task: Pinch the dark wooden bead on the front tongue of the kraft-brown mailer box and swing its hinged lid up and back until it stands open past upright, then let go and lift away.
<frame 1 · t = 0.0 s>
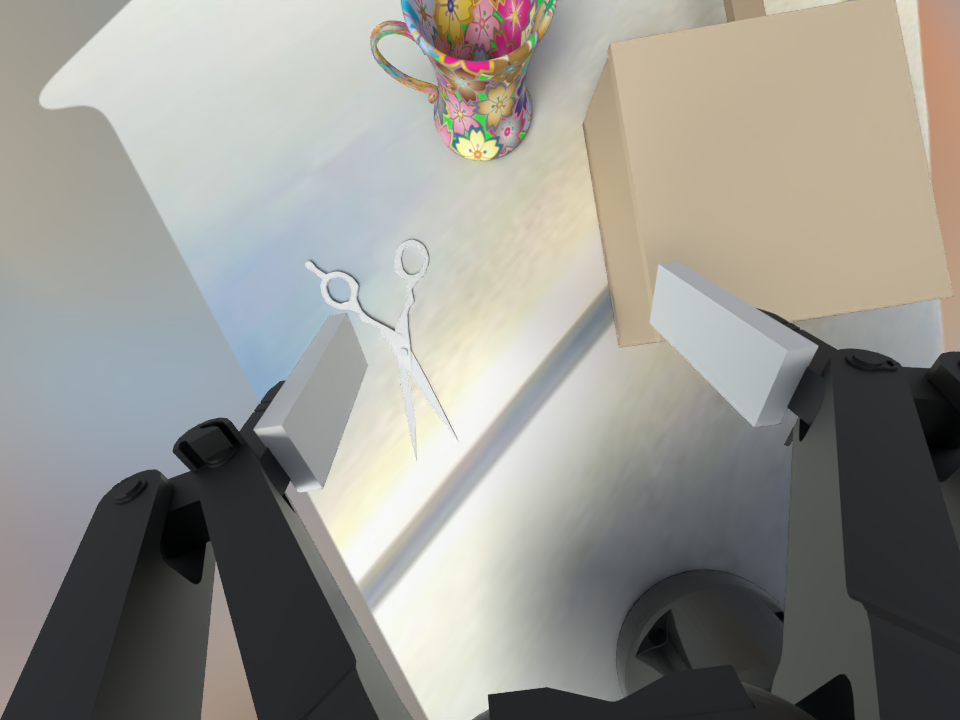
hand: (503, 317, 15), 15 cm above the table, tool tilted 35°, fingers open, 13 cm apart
scissors: (400, 346, 31), on the table
mug: (468, 123, 31), on the table
lid: (760, 97, 23), point 7 cm above the table, hinge at 0.0°
mailer box: (704, 218, 30), on the table
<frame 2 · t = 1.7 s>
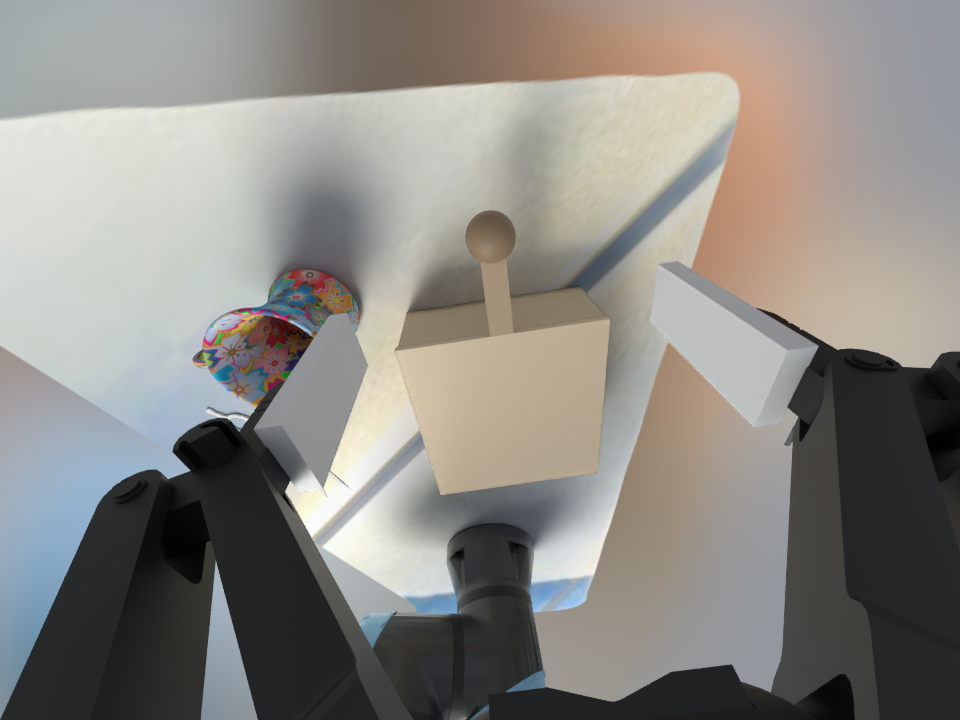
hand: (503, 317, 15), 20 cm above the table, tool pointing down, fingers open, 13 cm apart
mug: (305, 308, 35), on the table
lid: (506, 380, 32), point 7 cm above the table, hinge at 0.0°
mailer box: (502, 376, 41), on the table
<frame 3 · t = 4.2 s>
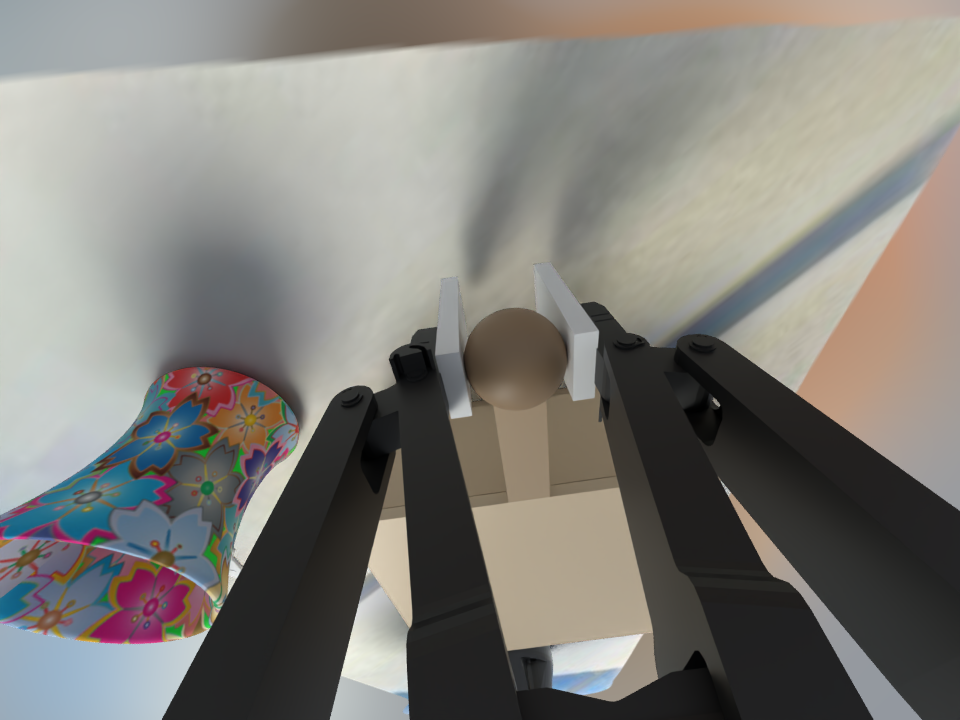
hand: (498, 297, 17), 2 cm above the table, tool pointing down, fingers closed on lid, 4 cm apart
mug: (215, 413, 22), on the table
lid: (533, 547, 20), point 7 cm above the table, hinge at 0.0°, touching gripper
mailer box: (519, 488, 28), on the table
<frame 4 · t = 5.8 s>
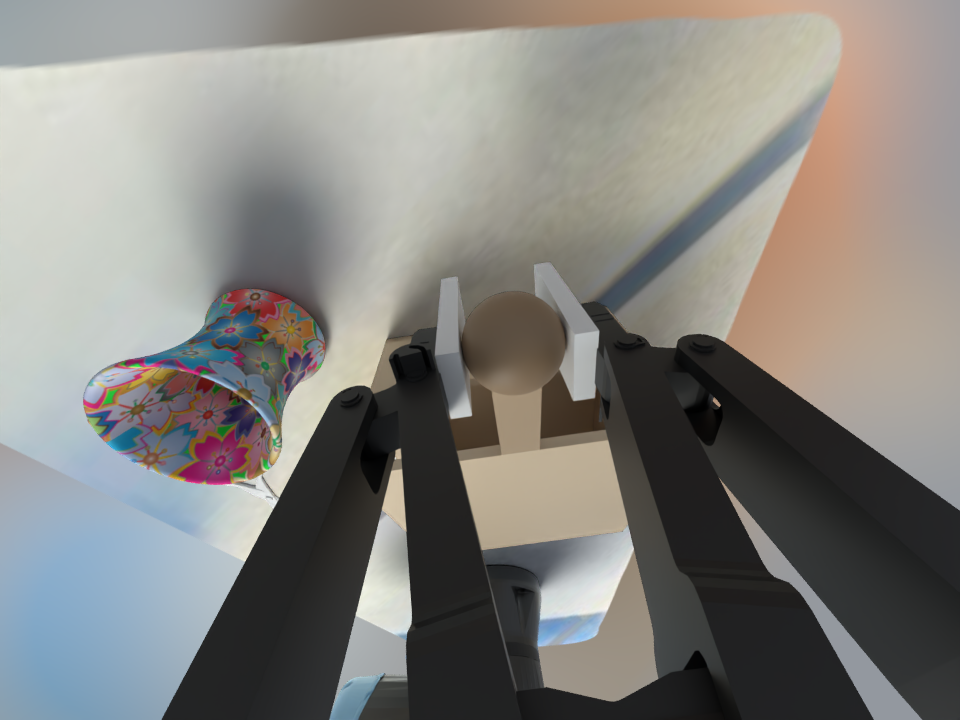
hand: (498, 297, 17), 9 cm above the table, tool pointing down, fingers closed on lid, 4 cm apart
scissors: (266, 489, 39), on the table
mug: (257, 335, 28), on the table
lid: (522, 483, 22), point 11 cm above the table, hinge at 14.9°, touching gripper
mailer box: (506, 412, 34), on the table
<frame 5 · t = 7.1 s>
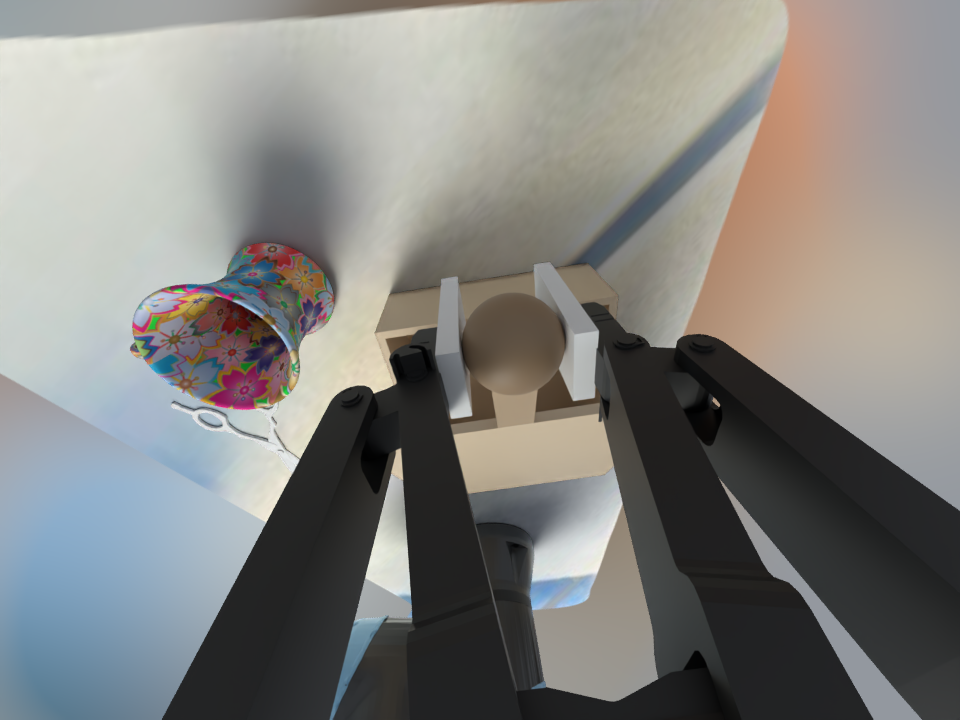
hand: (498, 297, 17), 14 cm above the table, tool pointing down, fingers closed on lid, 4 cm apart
scissors: (278, 443, 42), on the table
mug: (272, 289, 30), on the table
lid: (515, 445, 23), point 14 cm above the table, hinge at 25.2°, touching gripper
mailer box: (499, 367, 37), on the table
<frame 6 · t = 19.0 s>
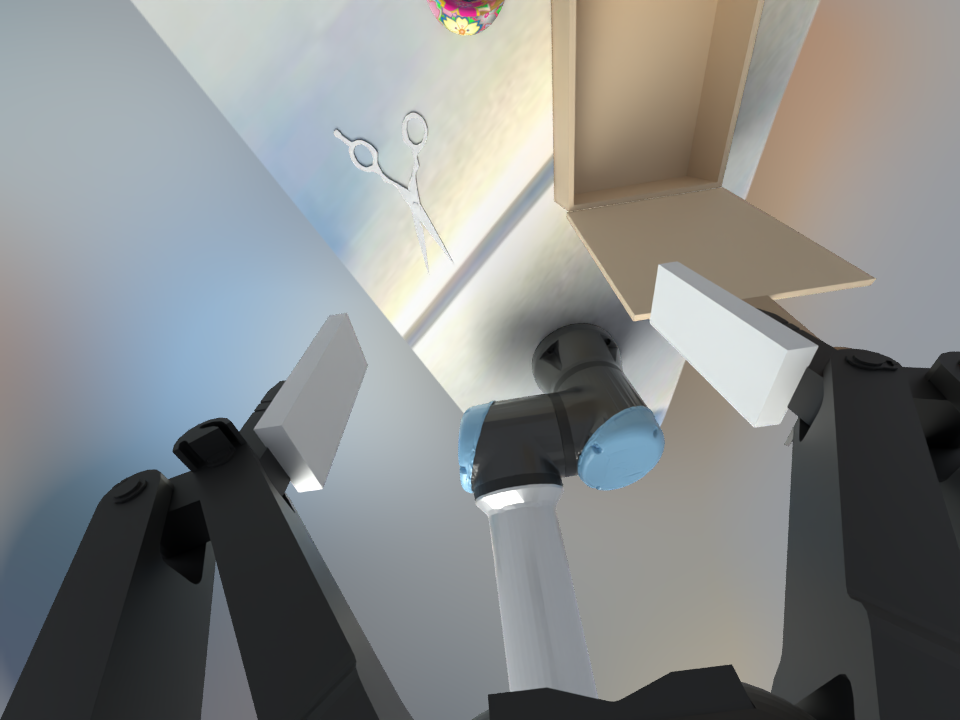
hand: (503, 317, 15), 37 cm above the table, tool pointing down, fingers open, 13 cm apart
scissors: (411, 199, 46), on the table
lid: (715, 266, 30), point 22 cm above the table, hinge at 101.0°
mailer box: (628, 98, 41), on the table
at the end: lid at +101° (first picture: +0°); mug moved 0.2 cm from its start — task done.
